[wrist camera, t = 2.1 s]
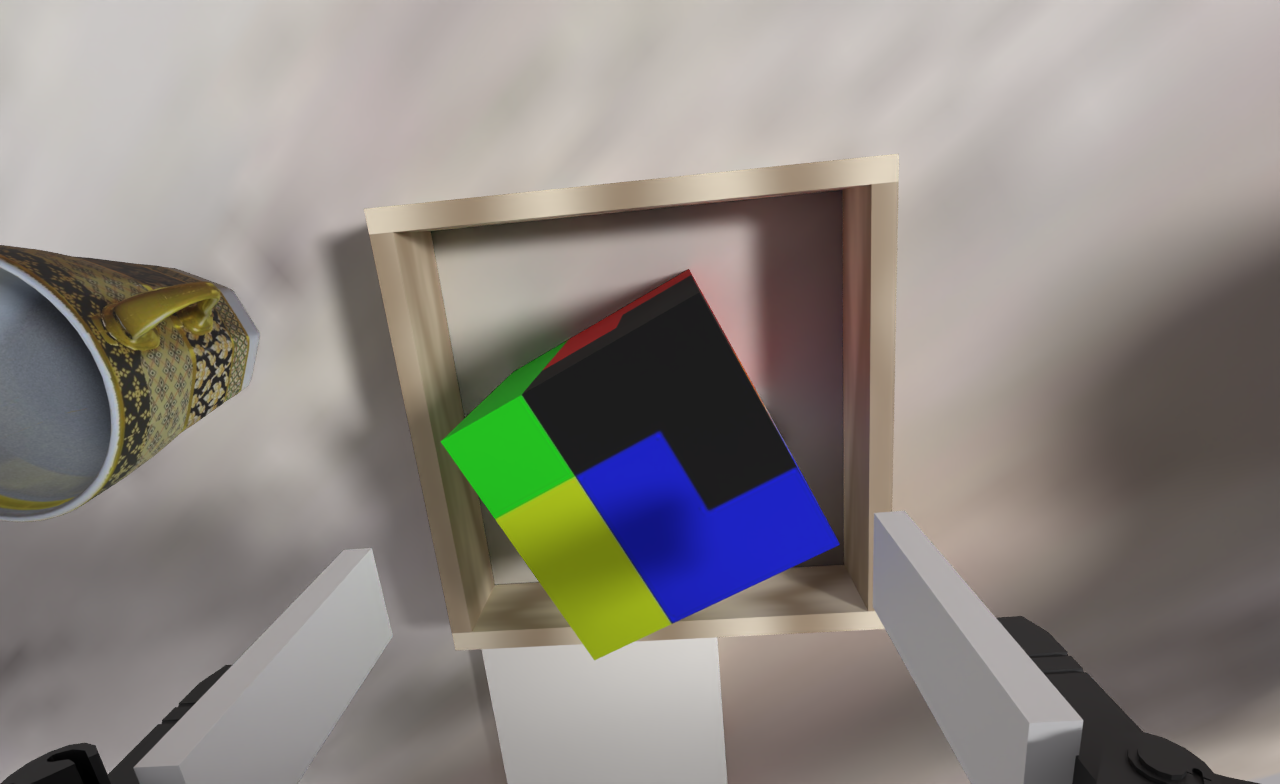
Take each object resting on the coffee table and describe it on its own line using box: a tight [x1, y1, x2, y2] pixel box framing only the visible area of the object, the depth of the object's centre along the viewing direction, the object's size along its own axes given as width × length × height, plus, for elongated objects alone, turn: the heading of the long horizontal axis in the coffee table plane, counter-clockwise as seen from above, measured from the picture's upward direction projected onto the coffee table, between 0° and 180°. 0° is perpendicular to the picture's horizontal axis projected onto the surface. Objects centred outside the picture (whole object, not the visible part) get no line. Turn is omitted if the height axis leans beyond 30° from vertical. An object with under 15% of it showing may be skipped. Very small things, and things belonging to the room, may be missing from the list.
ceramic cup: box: [0, 245, 260, 522], centre depth 25 cm, size 13×10×10 cm
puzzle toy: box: [440, 269, 840, 660], centre depth 25 cm, size 10×10×10 cm
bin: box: [364, 154, 899, 651], centre depth 28 cm, size 21×21×4 cm
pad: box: [482, 637, 727, 784], centre depth 35 cm, size 13×13×1 cm
